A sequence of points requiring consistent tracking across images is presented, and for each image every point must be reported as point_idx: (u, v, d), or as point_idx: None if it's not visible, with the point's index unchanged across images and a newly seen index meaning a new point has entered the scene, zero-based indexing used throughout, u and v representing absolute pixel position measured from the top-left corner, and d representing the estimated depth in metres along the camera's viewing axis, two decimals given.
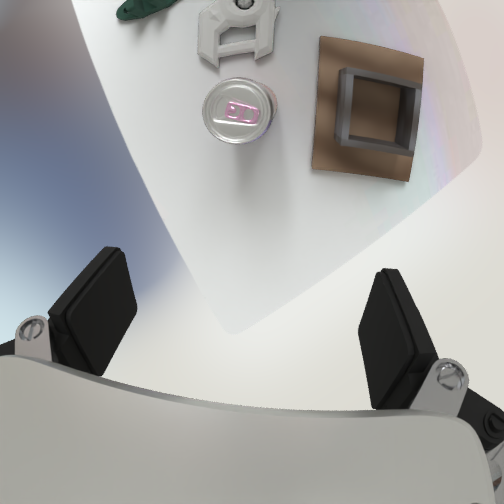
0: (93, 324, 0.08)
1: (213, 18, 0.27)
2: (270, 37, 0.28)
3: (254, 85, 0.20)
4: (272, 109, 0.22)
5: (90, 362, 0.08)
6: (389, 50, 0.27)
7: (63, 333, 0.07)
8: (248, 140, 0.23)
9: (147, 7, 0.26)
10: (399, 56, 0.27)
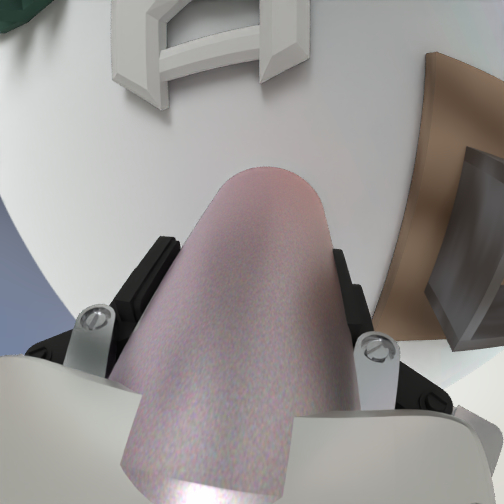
0: None
1: None
2: (303, 19, 0.09)
3: None
4: None
5: None
6: None
7: (128, 321, 0.08)
8: None
9: None
10: None
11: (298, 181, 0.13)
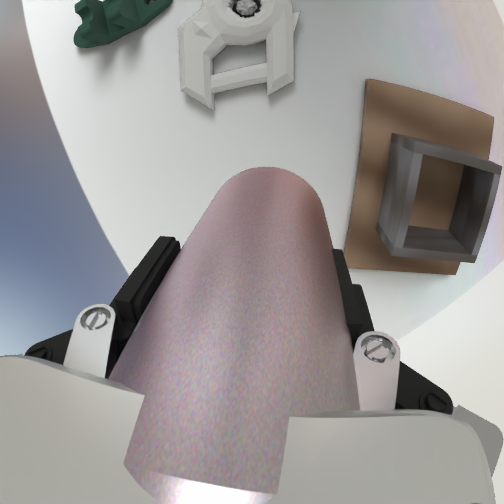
0: None
1: (199, 33, 0.18)
2: (289, 59, 0.19)
3: None
4: None
5: None
6: (456, 105, 0.19)
7: (128, 321, 0.08)
8: None
9: (113, 27, 0.18)
10: (467, 114, 0.19)
11: (298, 182, 0.13)
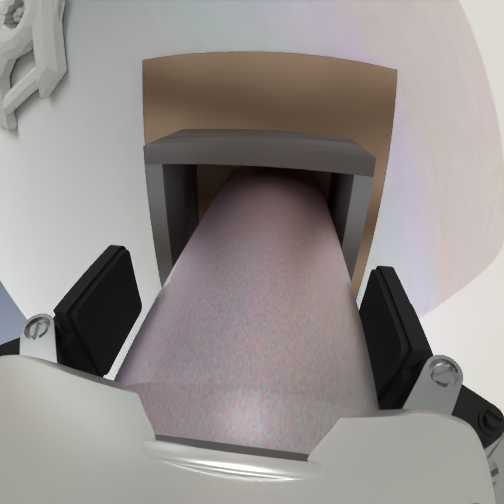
0: (99, 322, 0.08)
1: None
2: (49, 50, 0.12)
3: None
4: None
5: (95, 360, 0.08)
6: (305, 58, 0.12)
7: (69, 331, 0.07)
8: None
9: None
10: (332, 70, 0.13)
11: (302, 170, 0.14)
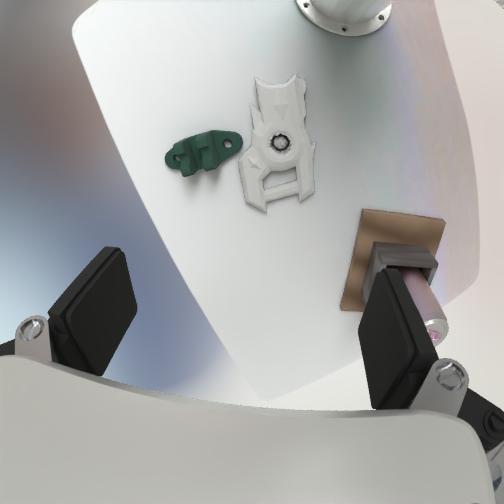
0: (93, 324, 0.08)
1: (254, 166, 0.36)
2: (311, 179, 0.37)
3: (445, 322, 0.28)
4: None
5: (90, 362, 0.08)
6: (418, 220, 0.38)
7: (63, 333, 0.07)
8: None
9: (201, 163, 0.37)
10: (425, 224, 0.38)
11: None
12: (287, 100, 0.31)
